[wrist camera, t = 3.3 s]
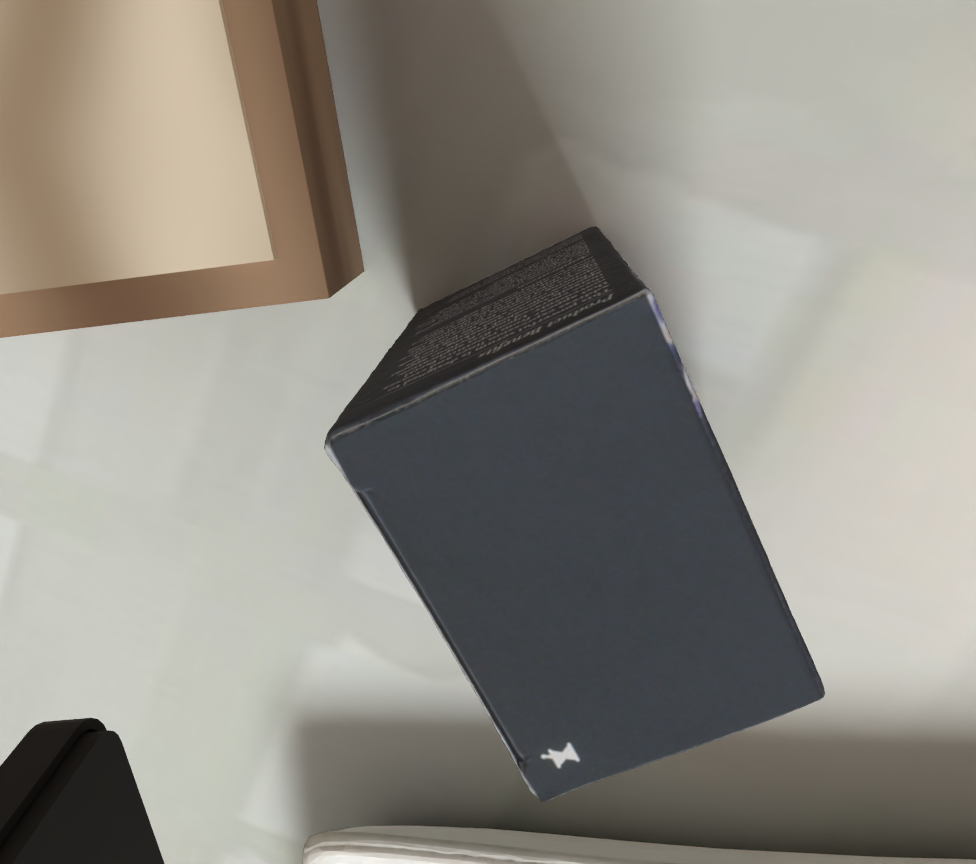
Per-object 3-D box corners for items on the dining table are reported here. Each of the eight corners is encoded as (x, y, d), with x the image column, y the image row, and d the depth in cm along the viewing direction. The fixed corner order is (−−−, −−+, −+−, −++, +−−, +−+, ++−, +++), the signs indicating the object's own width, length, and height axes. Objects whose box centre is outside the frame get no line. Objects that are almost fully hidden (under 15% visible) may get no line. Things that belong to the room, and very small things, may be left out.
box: (709, 468, 23) (837, 709, 13) (531, 541, 25) (529, 814, 15) (598, 216, 21) (654, 281, 11) (409, 309, 22) (308, 444, 12)
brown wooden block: (287, -163, 19) (220, -245, 15) (364, 271, 22) (327, 299, 18) (-112, -93, 20) (-275, -151, 16) (18, 313, 23) (-88, 349, 19)
